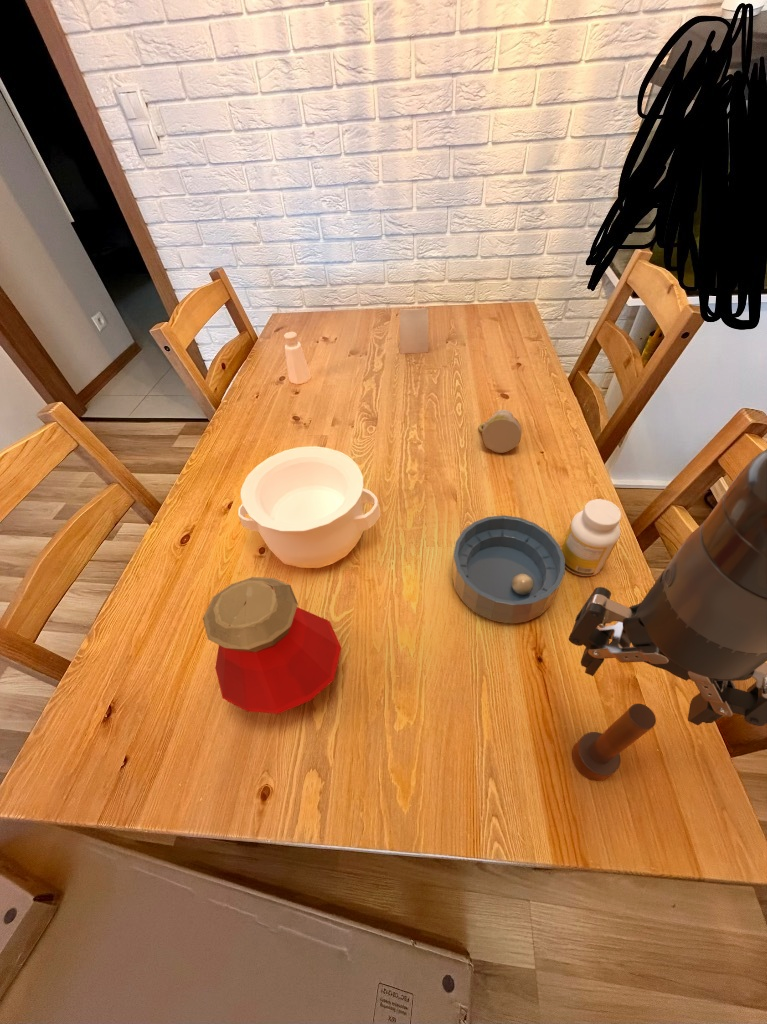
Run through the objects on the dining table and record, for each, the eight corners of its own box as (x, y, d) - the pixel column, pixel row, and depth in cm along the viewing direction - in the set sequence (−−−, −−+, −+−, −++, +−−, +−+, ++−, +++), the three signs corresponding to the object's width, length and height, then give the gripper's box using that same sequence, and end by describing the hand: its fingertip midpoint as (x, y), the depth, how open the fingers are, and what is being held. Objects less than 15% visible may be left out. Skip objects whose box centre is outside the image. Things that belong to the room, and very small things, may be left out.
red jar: (342, 621, 66) (320, 537, 51) (351, 718, 58) (328, 650, 43) (233, 638, 66) (178, 558, 51) (225, 739, 57) (156, 678, 42)
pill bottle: (593, 541, 73) (617, 491, 64) (609, 576, 69) (637, 527, 60) (553, 545, 73) (571, 495, 64) (566, 580, 69) (587, 531, 60)
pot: (380, 494, 83) (375, 441, 73) (384, 575, 71) (379, 525, 62) (259, 502, 83) (239, 451, 74) (243, 584, 72) (217, 536, 62)
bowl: (568, 563, 71) (578, 539, 66) (534, 644, 63) (543, 623, 58) (476, 526, 76) (480, 502, 72) (434, 596, 68) (435, 574, 64)
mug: (518, 422, 93) (535, 401, 84) (504, 465, 92) (520, 449, 82) (483, 410, 94) (496, 388, 84) (468, 452, 92) (480, 435, 82)
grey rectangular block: (428, 352, 112) (428, 312, 105) (400, 353, 113) (399, 313, 105) (427, 344, 115) (428, 305, 107) (400, 345, 115) (399, 306, 108)
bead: (513, 577, 69) (520, 596, 68) (505, 577, 66) (512, 597, 65) (532, 570, 67) (539, 590, 66) (525, 570, 65) (532, 591, 64)
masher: (617, 755, 53) (676, 710, 41) (603, 790, 51) (661, 753, 39) (580, 731, 55) (626, 681, 43) (565, 763, 53) (608, 721, 41)
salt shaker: (316, 377, 108) (307, 333, 100) (297, 387, 106) (286, 343, 98) (302, 369, 111) (293, 325, 103) (284, 378, 109) (272, 334, 100)
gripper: (870, 595, 28) (735, 691, 40) (624, 514, 34) (571, 620, 46) (878, 705, 24) (726, 774, 36) (598, 593, 30) (547, 685, 42)
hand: (639, 688), depth 41 cm, fingers open, 8 cm apart
